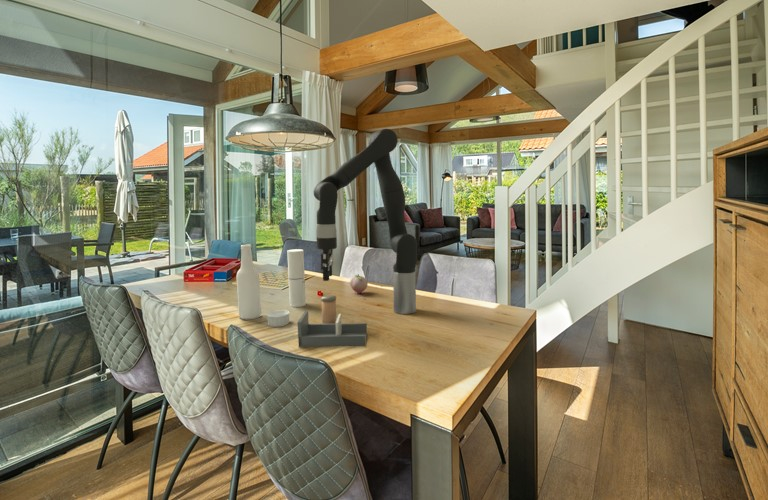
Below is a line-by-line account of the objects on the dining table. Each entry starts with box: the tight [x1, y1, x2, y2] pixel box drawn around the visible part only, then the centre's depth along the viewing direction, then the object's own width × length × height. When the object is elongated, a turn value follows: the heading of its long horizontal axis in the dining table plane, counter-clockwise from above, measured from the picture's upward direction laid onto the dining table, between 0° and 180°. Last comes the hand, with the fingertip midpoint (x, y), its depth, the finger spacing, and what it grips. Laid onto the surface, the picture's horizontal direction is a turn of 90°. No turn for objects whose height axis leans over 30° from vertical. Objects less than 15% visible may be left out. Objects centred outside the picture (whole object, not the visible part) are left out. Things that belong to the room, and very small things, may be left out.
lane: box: [297, 310, 368, 348], centre depth 137 cm, size 22×13×8 cm, turn 90°
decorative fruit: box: [349, 274, 369, 294], centre depth 199 cm, size 9×8×10 cm
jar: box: [320, 294, 337, 324], centre depth 154 cm, size 6×6×11 cm
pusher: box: [335, 313, 342, 335], centre depth 137 cm, size 1×10×7 cm, turn 0°
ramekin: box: [265, 309, 291, 328], centre depth 155 cm, size 9×9×4 cm
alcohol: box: [236, 243, 262, 321], centre depth 162 cm, size 9×9×30 cm
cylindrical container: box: [286, 248, 307, 308], centre depth 179 cm, size 7×7×25 cm
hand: (327, 278), depth 152 cm, fingers open, 8 cm apart
